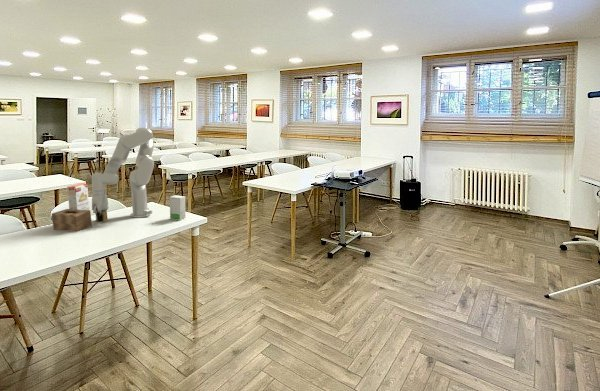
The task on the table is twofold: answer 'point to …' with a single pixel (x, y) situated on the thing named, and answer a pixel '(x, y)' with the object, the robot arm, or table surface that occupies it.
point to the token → (103, 216)
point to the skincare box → (177, 207)
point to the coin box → (71, 220)
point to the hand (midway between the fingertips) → (101, 220)
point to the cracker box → (78, 196)
